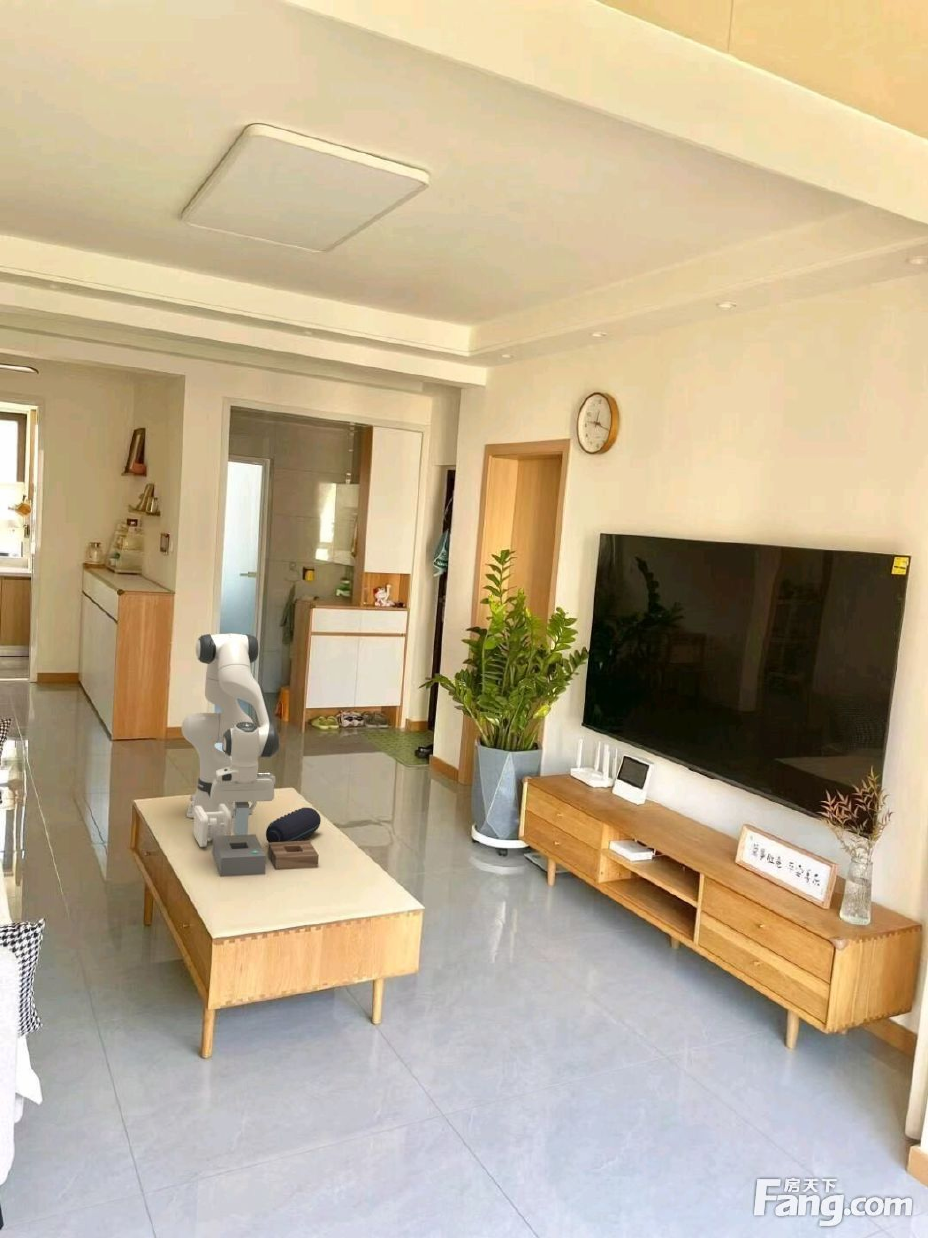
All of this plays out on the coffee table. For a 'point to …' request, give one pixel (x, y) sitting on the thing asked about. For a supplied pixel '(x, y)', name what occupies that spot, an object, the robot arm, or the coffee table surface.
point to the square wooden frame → (292, 854)
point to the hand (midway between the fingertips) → (241, 814)
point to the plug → (241, 818)
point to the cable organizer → (211, 824)
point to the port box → (238, 855)
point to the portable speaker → (293, 826)
